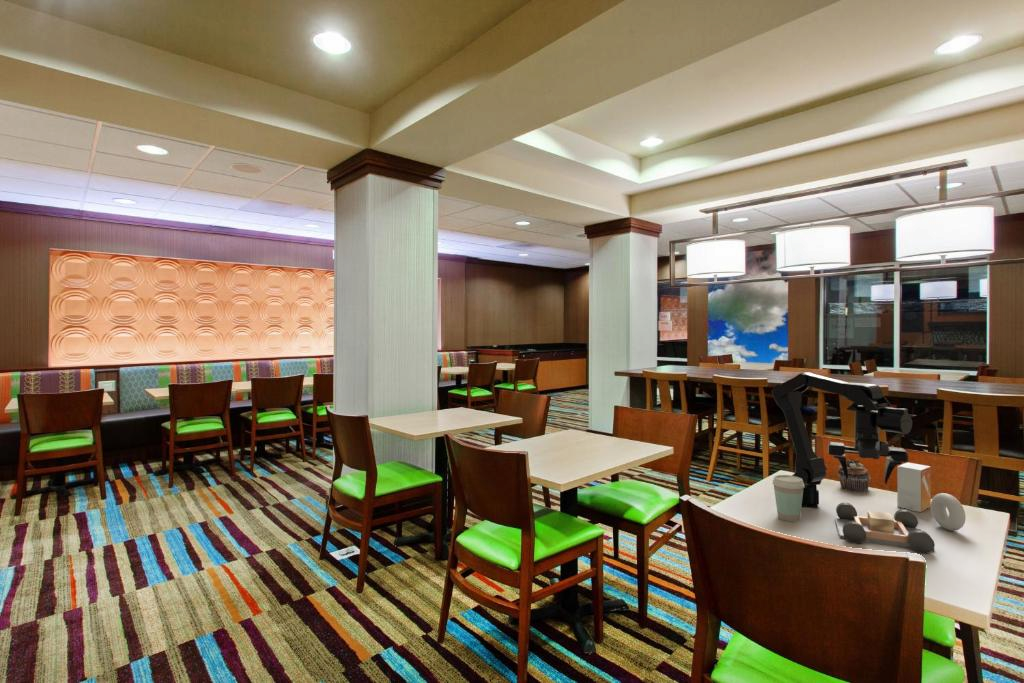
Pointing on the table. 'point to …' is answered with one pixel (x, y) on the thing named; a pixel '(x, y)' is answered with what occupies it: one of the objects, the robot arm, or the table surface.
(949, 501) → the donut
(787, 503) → the coffee cup
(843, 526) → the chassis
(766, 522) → the table surface
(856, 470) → the cupcake
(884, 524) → the tan wooden block
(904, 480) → the small box
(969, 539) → the table surface
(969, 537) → the table surface
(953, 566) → the table surface
